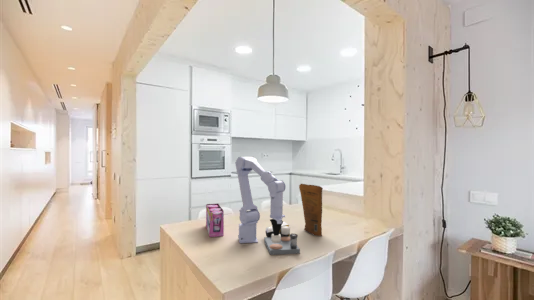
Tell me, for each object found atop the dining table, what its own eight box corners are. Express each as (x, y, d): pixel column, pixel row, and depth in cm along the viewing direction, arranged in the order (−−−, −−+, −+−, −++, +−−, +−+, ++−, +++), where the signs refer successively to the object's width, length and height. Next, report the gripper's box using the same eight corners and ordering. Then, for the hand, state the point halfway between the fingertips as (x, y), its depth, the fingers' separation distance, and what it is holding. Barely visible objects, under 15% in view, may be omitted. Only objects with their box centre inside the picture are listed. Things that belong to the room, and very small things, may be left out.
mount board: (270, 254, 119) (270, 249, 119) (264, 241, 137) (264, 236, 137) (299, 253, 121) (299, 248, 121) (290, 240, 139) (290, 235, 139)
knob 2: (282, 234, 132) (282, 228, 132) (280, 232, 136) (280, 226, 136) (290, 234, 133) (290, 228, 133) (288, 231, 137) (288, 226, 137)
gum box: (224, 236, 143) (224, 212, 143) (209, 238, 140) (209, 212, 140) (218, 224, 166) (218, 203, 166) (205, 225, 163) (205, 203, 163)
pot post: (290, 249, 121) (290, 236, 121) (288, 246, 124) (289, 233, 124) (298, 248, 121) (298, 235, 121) (296, 246, 125) (296, 233, 125)
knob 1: (272, 243, 121) (272, 236, 121) (270, 239, 125) (270, 233, 125) (281, 242, 122) (281, 236, 122) (279, 239, 126) (279, 233, 126)
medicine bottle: (290, 237, 141) (269, 242, 137) (285, 233, 147) (265, 237, 144) (289, 224, 140) (268, 228, 137) (284, 221, 147) (264, 225, 143)
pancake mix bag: (317, 238, 142) (317, 186, 142) (297, 228, 159) (298, 182, 159) (326, 236, 145) (327, 186, 145) (306, 227, 162) (307, 182, 162)
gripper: (288, 209, 117) (288, 239, 117) (281, 202, 131) (281, 230, 131) (273, 209, 116) (272, 240, 116) (267, 203, 130) (267, 230, 130)
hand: (276, 235), depth 124 cm, fingers closed, pressing on knob 1
